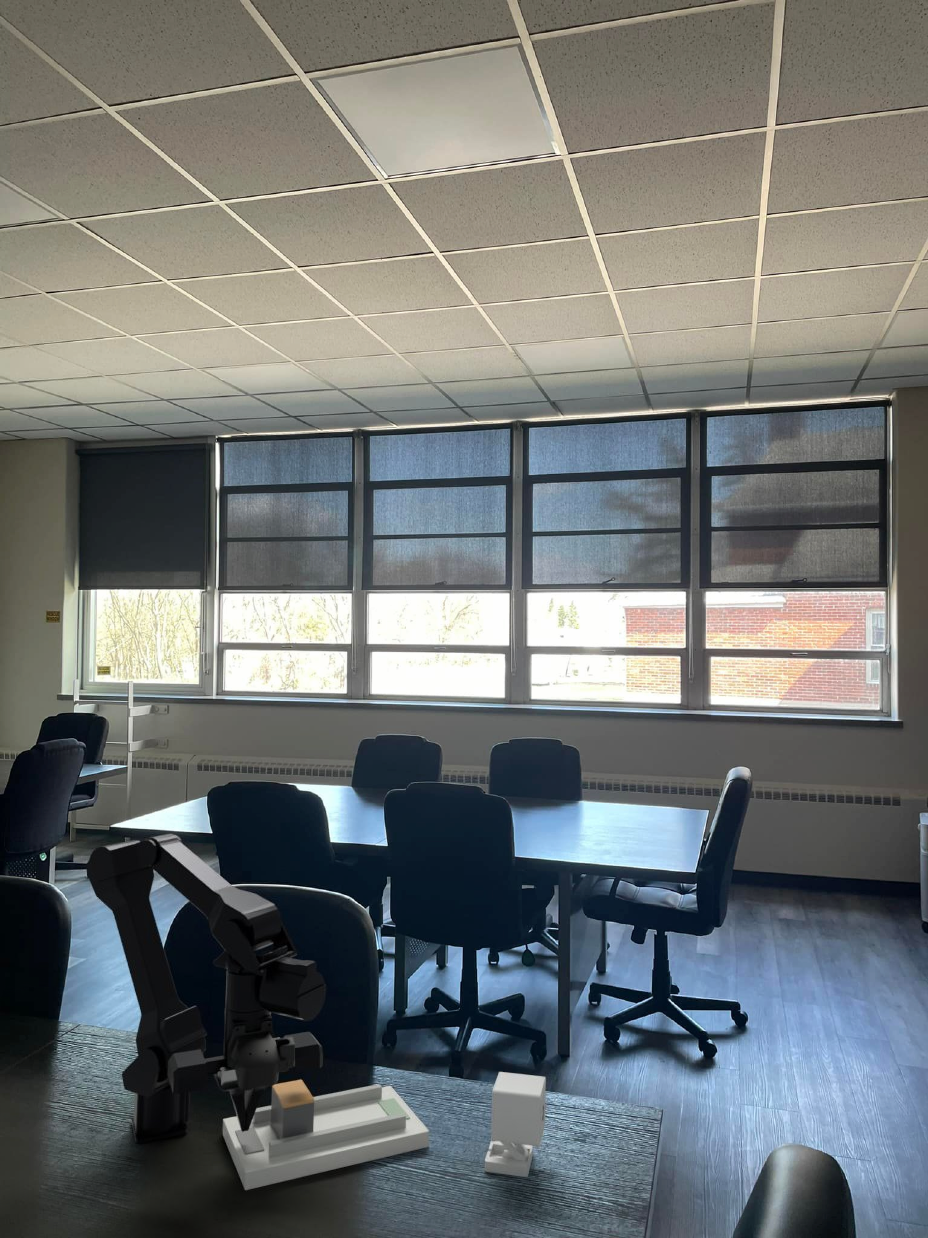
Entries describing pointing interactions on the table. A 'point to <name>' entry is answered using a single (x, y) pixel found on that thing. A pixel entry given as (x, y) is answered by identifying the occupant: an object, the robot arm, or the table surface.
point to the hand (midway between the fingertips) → (244, 1130)
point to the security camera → (516, 1123)
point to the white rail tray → (326, 1136)
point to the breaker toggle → (292, 1109)
